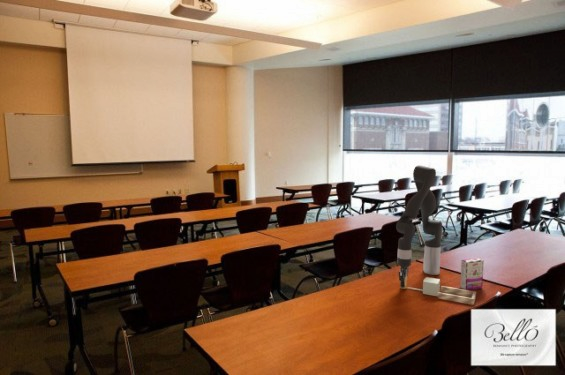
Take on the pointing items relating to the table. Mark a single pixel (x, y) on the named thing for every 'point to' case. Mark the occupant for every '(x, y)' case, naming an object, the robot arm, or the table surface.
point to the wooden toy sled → (456, 297)
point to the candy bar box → (471, 273)
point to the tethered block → (427, 286)
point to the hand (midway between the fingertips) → (403, 285)
